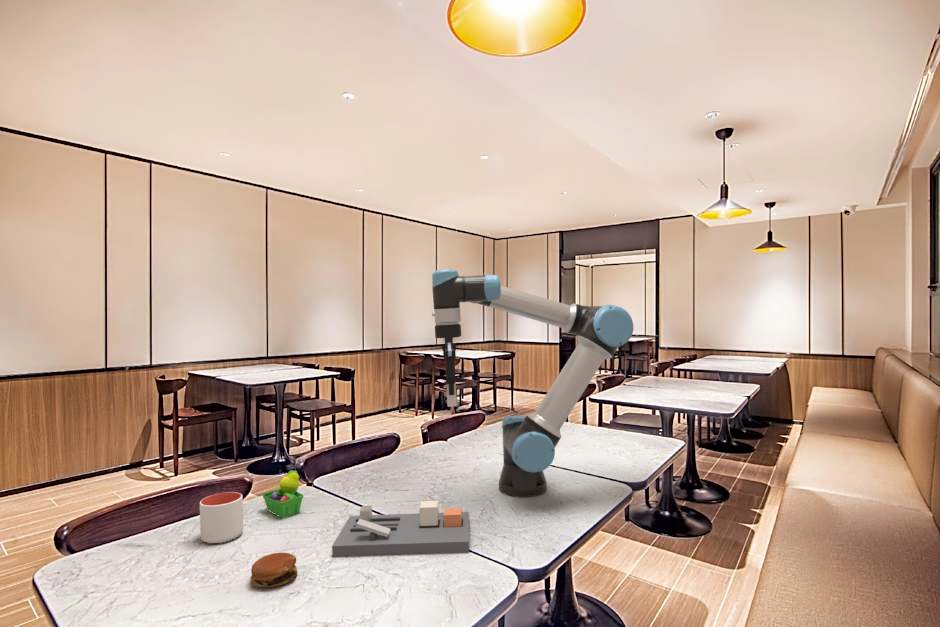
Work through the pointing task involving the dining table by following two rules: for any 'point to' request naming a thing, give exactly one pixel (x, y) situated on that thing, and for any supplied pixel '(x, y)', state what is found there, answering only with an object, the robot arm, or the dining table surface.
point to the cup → (221, 517)
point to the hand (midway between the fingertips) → (452, 405)
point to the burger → (273, 570)
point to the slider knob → (366, 513)
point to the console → (401, 537)
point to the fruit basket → (285, 496)
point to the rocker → (373, 527)
